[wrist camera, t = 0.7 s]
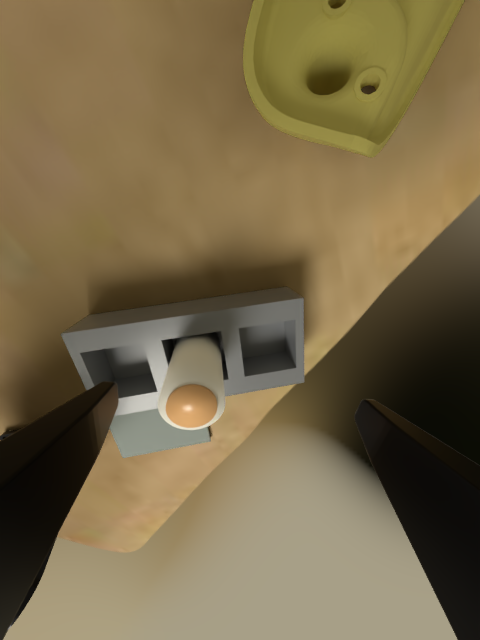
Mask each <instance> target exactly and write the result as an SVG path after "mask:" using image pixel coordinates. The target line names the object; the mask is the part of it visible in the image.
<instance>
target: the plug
mask: <svg viewBox="0 0 480 640" xmlns="http://www.w3.org/2000/svg"><path fill="white" fill-rule="evenodd" d="M224 409H225V392H224V381H223V370H222V359H221V348H220V339H219V336H218V334H217V333H216V332H212V333H205V334H199V335H192V336H186V337H179V338H177V341H176V344H175V348H174V351H173V354H172V357H171V360H170V364H169V367H168V370H167V373H166V376H165V379H164V383H163V386H162V389H161V392H160V395H159V399H158V410H159V413H160V415H161V417H162V418H163V419H164V420H165V421H166V422H167V423H168V424H170V425H172V426H174V427H176V428H179V429H184V430H197V429H202V428H205V427H207V426H210V425H211V424H213V423H214V422H216V421H217V420H218V419H219V418H220V416H221V415H222V413H223V411H224Z"/></svg>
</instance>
